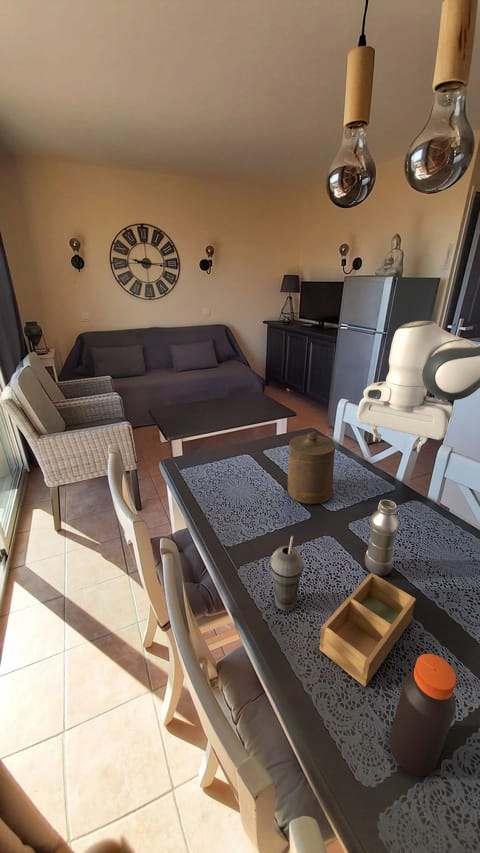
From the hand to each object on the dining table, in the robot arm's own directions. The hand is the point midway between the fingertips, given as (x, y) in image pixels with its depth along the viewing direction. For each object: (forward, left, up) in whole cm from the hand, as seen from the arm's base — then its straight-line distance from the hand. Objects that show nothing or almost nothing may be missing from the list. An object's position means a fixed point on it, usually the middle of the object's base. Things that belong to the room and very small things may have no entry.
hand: (395, 445), depth 90 cm
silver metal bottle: (-5, +11, -30) cm, 32 cm away
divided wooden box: (-12, +29, -29) cm, 43 cm away
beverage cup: (+5, +35, -30) cm, 46 cm away
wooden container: (+28, -5, -30) cm, 41 cm away
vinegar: (-27, +42, -30) cm, 58 cm away
